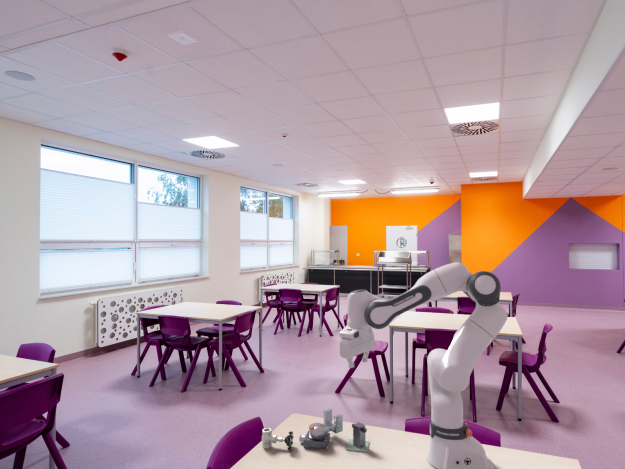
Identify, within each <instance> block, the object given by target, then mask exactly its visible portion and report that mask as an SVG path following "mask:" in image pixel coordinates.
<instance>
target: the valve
mask: <svg viewBox="0 0 625 469" xmlns="http://www.w3.org/2000/svg"><path fill="white" fill-rule="evenodd" d="M272 431H273V430H272V429H271V428H270V427H265V428H262V432H261V433H262V435H261V442H262V448H263V449H266V450H269V449H271V448H272V446H273V444H277V442H279V443H283V442H284V443H285V445H286V446H287V450H288V451H291V450H292V449H293V445H294V442H293V440H294V435H293V434H294V431H291V430H290V431H288V435H286V436H285V437H282V436H277V434H273V432H272ZM272 434H273V435H272Z"/></svg>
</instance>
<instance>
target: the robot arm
mask: <svg viewBox="0 0 625 469" xmlns="http://www.w3.org/2000/svg"><path fill="white" fill-rule="evenodd" d="M501 289H502V286H501V281H500V279H499V278H498V276H496V275H495V274H494V273H492V272H490V271H487V270H480V271H478V272H475V273H471V271H470V270H469V269H468V267H467V266H466V265H465V264H463V263H462V262H459V261H456V262H450V263H447V264H444V265H442V266H438V267H437V268H434V269H433V270H430V271H429V272H427V273H425V274H423V275H422V276H421V277H419V278H418V279H417V281H416V282H415V284H414V285H413V286H412V287H411V288H409V289H408V290H407V291H405V292H403V293H401V294H399V295H397V296H395V297H393V298H391V299H389V300H388V299H386V298H383V297H380V296H377V295H374V294H372V293H371V292H369V291H368V290H367V289H364V288H363V289H355V290H352V291H351V292H349V294H348V295H347V299H346V300H347V301H346V313H347V320H346V325H345V327H343V329H341V330H340V331H339V337H340V339H339V356H340V357H341V358H342V359H346V361H347V363H348V368H349V369H353V368H355V362H353V359H354V357H356V356H359V355H362V354H363V356H362V357H361V361H362V363H367V362H368V357H369V354H370V351H371V350H374V349H375V345H376V342H375V334H374V332H373V329H375V330H382V329H385V328H386V327H388V326H389V325H390V323H391V322H393V320H394V319H395V318H396V317H398V316H400V315H402V314H403V313H406V312H408V311H410V310H412V309H414V308H416V307H419V306H421V305H424V304H427V303H430V302H435V301H438V300H441V299H443V298H445V297H448V296H450V295H452V294H454V293H457V292H463V293H464V294H465V295H466V296H467V297H468V298H469V299H470V300H471V301H472V302H474V303H475V307H474V308H475V309H473V311H472V313H471V314H470V315H469V316H468V317H467V318H466V320H465V321H464V322H463V323H462V324H461V326H460V327H459V328H458V329H457V331H456V332H455V333H454V335H453V338H452V341H451V343H450V345H449V346H448V349H444V348H440V347H439V348H435V349H432V350H431V351H430V352H429V353H428V355H427V357H426V361H427V362H426V363H427V374H428V384H429V393H430V403H431V404H430V411H431V412H430V413H431V416H430V420H429V435H430V443H429V449H428V453H427V456H426V460H427V461H428V463H429V464H430V465H431V466H432V467H434V468H435V469H495V467H494V464H493V461H492V460H491V458H490V457H489V456H487V454H486V450H485V448H484V446H483V444H481V442H480V441H479V440H477V439H476V438H475V437H474V436H473V431H472V430H471V429H470V426H469V425H468V423H467V422H465V421H464V401H463V397H462V393H461V392H463V391H464V390H466V389H467V387H468V385H469V383H470V378H471V377H470V376H471V374H472V373H473V371H474V368H475V366H476V364H477V362H478V360H479V359H480V357H481V356H482V354H483V353H484V352H485V351H486V350H487V348H488V347H489V345H490V344H491V343H492V342H493V341H494V340H495V339H496V338H497V336H498V334H499V333H500V332H501V330H502V329H503V327H504V325H505V324H506V322H507V320H508V312H507V310H506V309H505V308H504V306H503V305H501V304H500V303H499V302H500V300H501V298H500V297H501V291H502V290H501Z"/></svg>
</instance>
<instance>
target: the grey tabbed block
mask: <svg viewBox="0 0 625 469" xmlns="http://www.w3.org/2000/svg"><path fill="white" fill-rule="evenodd" d="M351 428H352V436H353V437H352V439H353V446H355V447H357V448H359V449H360V448H362V447H364V446H366V442H365V441H366V433H367V430H368V428H366V424H364V423H362V422H356V423H352V424H351Z"/></svg>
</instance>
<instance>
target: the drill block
mask: <svg viewBox="0 0 625 469" xmlns="http://www.w3.org/2000/svg"><path fill="white" fill-rule="evenodd" d="M298 438H299V440H298V441H299V442H302V443H303V449H310V450H315V451H316V450H318V451H319V450H320V451H327V449H328V447H329V444H330V442H331V432H328V433H325V437H324V438H323V439H320V440H314V439H311V438H310V437H309V430H308V431H307V433H306V435H303V434H302V435H301V434H300V435H299V437H298Z"/></svg>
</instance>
